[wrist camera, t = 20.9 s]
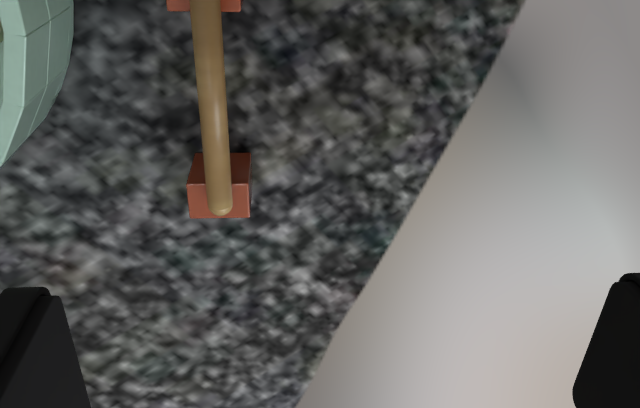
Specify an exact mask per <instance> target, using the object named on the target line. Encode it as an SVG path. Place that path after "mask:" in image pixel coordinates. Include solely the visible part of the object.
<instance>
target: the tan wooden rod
mask: <svg viewBox="0 0 640 408" xmlns="http://www.w3.org/2000/svg"><path fill="white" fill-rule="evenodd" d="M189 2H190V14H191V25H192V36H193V47H194V58H195V70H196V81H197V92H198V103H199V115H200V126H201V137H202V148H203V159H204V171H205V182H206V193H207V204H208V208H209V210H210V211H211V213H213V214H214V215H217V216H224V215H226V214H228V213H229V212H230V211H231V209H232V206H233V198H232V182H231V166H230V150H229V133H228V117H227V101H226V85H225V69H224V53H223V36H222V20H221V4H220V0H189Z"/></svg>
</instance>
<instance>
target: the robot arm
mask: <svg viewBox="0 0 640 408" xmlns="http://www.w3.org/2000/svg"><path fill="white" fill-rule="evenodd" d="M573 401H574V404H575V406H576V408H640V273H628V274H624V275H623V276H622V277H621V278H620V280H619V282H615V283H614V284H613V285H612V286H611V288H610V290H609V293H608V296H607V298H606V301H605V304H604V306H603V309H602V312H601V314H600V317H599V320H598V322H597V325H596V328H595V330H594V333H593V335H592V338H591V341H590V343H589V346H588V349H587V351H586V354H585V357H584V359H583V362H582V365H581V367H580V370H579V372H578V375H577V378H576V380H575V383H574V386H573ZM0 408H91V406H90V402H89V398H88V395H87V391H86V387H85V384H84V380H83V376H82V373H81V369H80V366H79V362H78V358H77V355H76V351H75V347H74V344H73V340H72V336H71V333H70V329H69V326H68V322H67V318H66V315H65V311H64V307H63V304H62V301H61V298H60V297H59V296H51V294H50V292H49V290H48V289H47V288H45V287H19V288H7V289H5V290H4V291H3V292H2V293H1V294H0Z"/></svg>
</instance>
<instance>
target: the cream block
mask: <svg viewBox="0 0 640 408" xmlns="http://www.w3.org/2000/svg"><path fill="white" fill-rule="evenodd" d="M3 40H4V32H3V28H2V25H1V21H0V42H2V41H3Z"/></svg>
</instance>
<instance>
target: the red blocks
mask: <svg viewBox="0 0 640 408" xmlns="http://www.w3.org/2000/svg"><path fill="white" fill-rule="evenodd" d="M220 4H221V12H240V11H241V8H242V4H243V0H220ZM166 5H167V10H168V11H190V2H189V0H166ZM230 166H231V182H232V198H233V206H232V209H231V211H230V212H229V213H228V214H226V215H224V216H217V215H214V214H213V213H211V211H210V210H209V208H208V204H207V193H206V182H205V171H204V159H203V153H195V155H194V159H193V162H192V166H191V169H190V173H189V176H188V180H187V184H186V187H187V196H188V206H189V215H190V218H249V217H250V210H251V196H252V164H251V153H230Z"/></svg>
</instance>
